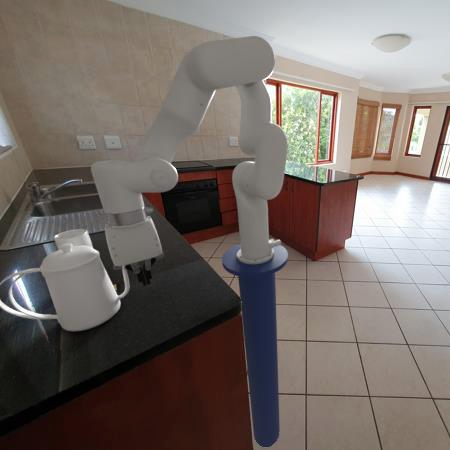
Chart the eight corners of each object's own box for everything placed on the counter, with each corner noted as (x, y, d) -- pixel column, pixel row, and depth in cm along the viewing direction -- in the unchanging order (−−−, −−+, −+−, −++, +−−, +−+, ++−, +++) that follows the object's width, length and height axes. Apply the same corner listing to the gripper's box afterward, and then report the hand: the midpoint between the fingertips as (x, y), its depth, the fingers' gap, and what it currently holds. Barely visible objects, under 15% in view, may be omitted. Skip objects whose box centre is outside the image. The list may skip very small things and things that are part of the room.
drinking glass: (71, 281, 68) (51, 233, 62) (101, 271, 73) (85, 226, 67) (75, 291, 64) (54, 241, 58) (106, 280, 69) (89, 233, 63)
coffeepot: (159, 306, 59) (141, 238, 52) (11, 358, 45) (-41, 276, 38) (153, 284, 67) (137, 223, 60) (27, 323, 53) (-14, 250, 46)
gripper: (160, 206, 61) (174, 266, 68) (85, 218, 52) (109, 286, 59) (166, 213, 56) (181, 278, 63) (84, 229, 47) (111, 302, 54)
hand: (146, 282), depth 61 cm, fingers closed
